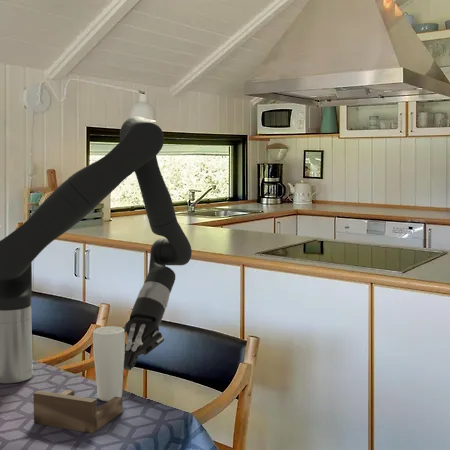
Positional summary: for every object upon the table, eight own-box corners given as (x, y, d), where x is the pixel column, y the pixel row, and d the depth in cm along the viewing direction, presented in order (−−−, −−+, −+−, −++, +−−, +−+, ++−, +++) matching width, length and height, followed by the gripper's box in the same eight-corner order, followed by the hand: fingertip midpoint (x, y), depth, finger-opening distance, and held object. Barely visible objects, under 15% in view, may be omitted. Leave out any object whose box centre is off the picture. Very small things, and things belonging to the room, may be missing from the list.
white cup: (101, 405, 128) (100, 335, 127) (89, 396, 133) (88, 328, 132) (130, 399, 132) (130, 331, 130) (118, 390, 137) (117, 324, 136)
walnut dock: (67, 403, 129) (67, 375, 129) (122, 411, 125) (122, 383, 124) (34, 423, 119) (33, 393, 118) (92, 433, 114) (91, 402, 114)
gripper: (121, 294, 149) (94, 357, 138) (170, 298, 144) (146, 363, 134) (132, 310, 154) (107, 372, 144) (180, 315, 150) (157, 379, 139)
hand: (126, 368), depth 139 cm, fingers closed
